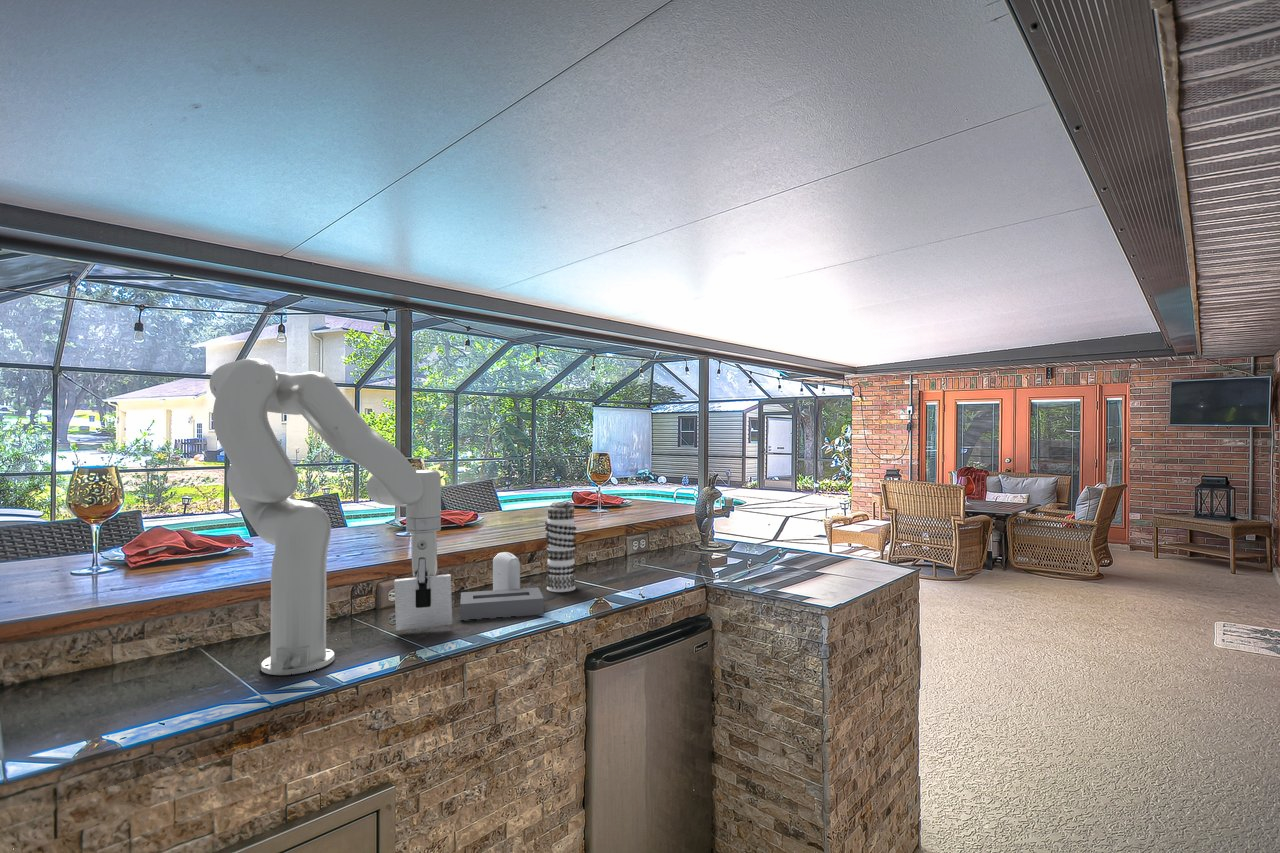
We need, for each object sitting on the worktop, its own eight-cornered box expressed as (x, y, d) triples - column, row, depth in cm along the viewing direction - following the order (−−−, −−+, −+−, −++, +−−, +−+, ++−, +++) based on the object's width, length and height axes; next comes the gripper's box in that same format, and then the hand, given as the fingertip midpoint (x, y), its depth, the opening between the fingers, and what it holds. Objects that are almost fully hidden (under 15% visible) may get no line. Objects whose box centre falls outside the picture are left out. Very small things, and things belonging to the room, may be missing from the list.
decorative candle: (539, 588, 185) (539, 502, 185) (566, 583, 190) (566, 500, 191) (554, 594, 177) (554, 505, 178) (582, 589, 183) (582, 503, 184)
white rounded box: (490, 595, 176) (490, 551, 177) (504, 592, 179) (504, 549, 179) (508, 602, 169) (508, 556, 169) (522, 599, 171) (522, 554, 172)
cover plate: (452, 624, 143) (450, 575, 143) (396, 630, 140) (394, 581, 140) (452, 621, 145) (450, 574, 145) (397, 628, 142) (395, 579, 142)
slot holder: (543, 614, 157) (543, 598, 157) (460, 620, 151) (460, 604, 152) (538, 602, 168) (538, 587, 168) (460, 607, 163) (460, 592, 163)
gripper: (439, 528, 136) (439, 613, 136) (442, 519, 152) (442, 596, 151) (402, 530, 135) (402, 616, 134) (409, 520, 150) (409, 598, 149)
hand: (423, 605), depth 143 cm, fingers closed on cover plate, 1 cm apart
